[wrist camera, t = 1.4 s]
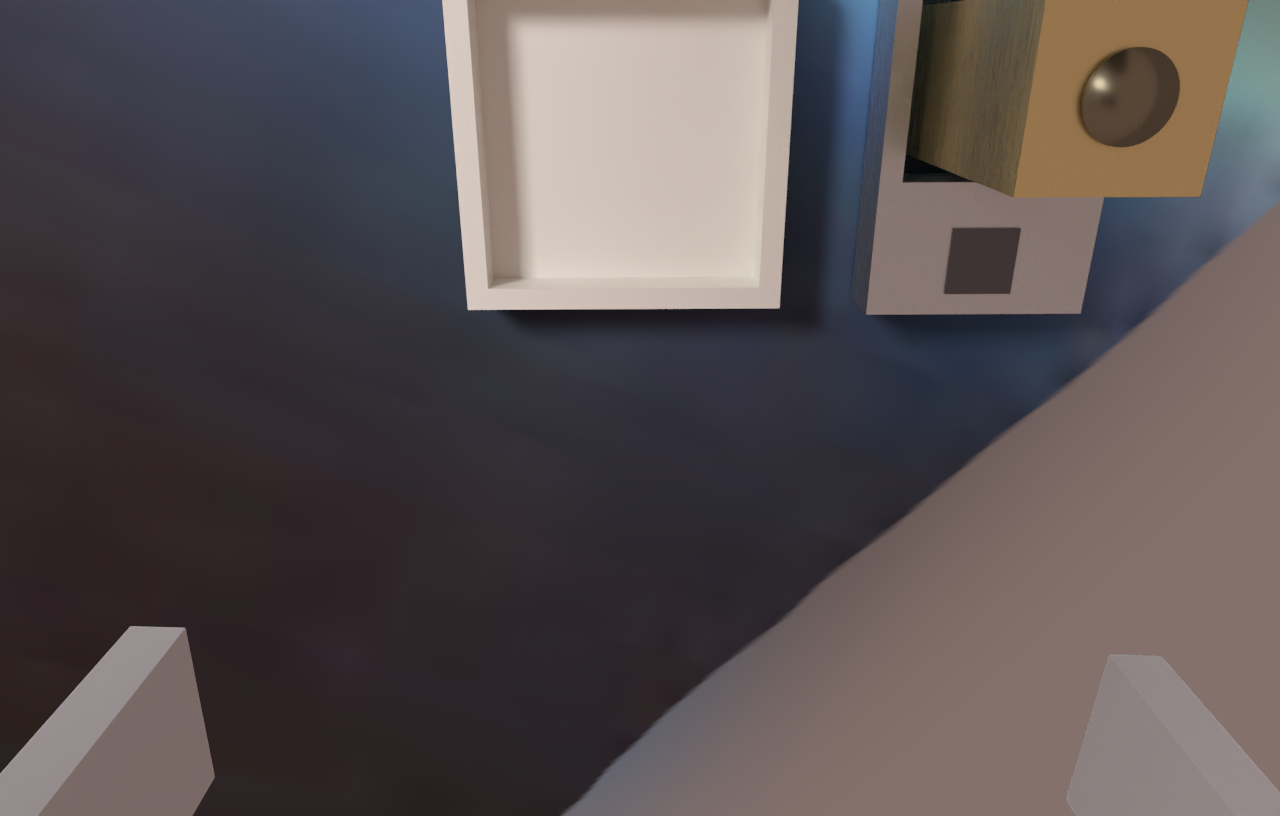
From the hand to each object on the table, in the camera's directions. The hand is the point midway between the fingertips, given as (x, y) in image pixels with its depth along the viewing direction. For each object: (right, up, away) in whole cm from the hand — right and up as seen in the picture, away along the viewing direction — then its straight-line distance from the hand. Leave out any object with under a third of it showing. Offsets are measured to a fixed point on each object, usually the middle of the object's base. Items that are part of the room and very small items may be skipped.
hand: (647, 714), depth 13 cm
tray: (-1, +14, +19) cm, 24 cm away
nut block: (+12, +16, +19) cm, 28 cm away
